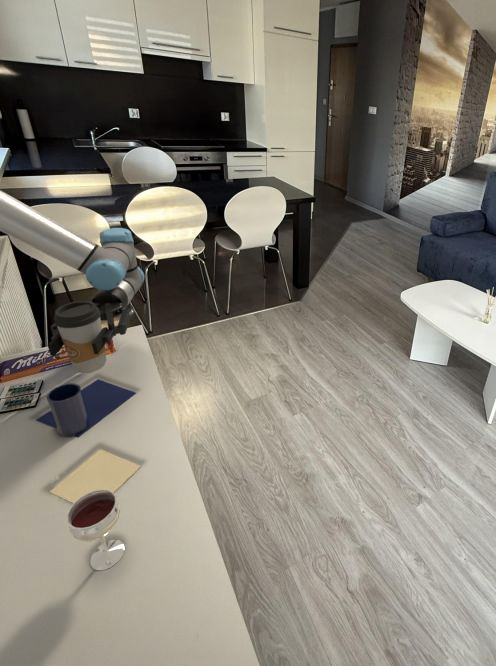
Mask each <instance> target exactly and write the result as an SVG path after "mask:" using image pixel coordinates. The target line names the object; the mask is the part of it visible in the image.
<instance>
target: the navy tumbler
mask: <svg viewBox="0 0 496 666" xmlns="http://www.w3.org/2000/svg"><path fill="white" fill-rule="evenodd" d="M46 401H47V403H48V406H49V409H50V410H51V412H52V415H53V418H54V421H55V424H56V427H57V429H56V430H57V432H58V434H59V435H60V436H62V437H68V438H71V437H75V435H78V434H80V433H82V432H83V431H85V430H86V429H87V428H88V427H89V425H90V417H89V414H88V411H87V407H86V404H85V400H84V397H83V394H82V387H81V386H80V385H79V384H77V383H71V382H70V383H69V382H68V383H64V384H60V385H58V386H56V387H54V388H53V389H51V390H50V391H49V392H48V393H47V395H46ZM50 410H49V411H50Z"/></svg>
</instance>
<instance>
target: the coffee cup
mask: <svg viewBox="0 0 496 666" xmlns="http://www.w3.org/2000/svg"><path fill="white" fill-rule="evenodd" d="M100 315H101V314H100V311H99V308H98V307H97V306H96V305H95V304H94V303H93V302H91V301H89V300H77V301H71V302H68V303H65V304H63V305H61V306H59V307H58V308H56V309H55V311H54V316H53V320H54V323H55V325H56V326H57V327H58V330H59V332H60V335H61V337H62V341H63V344H64V345H63V347H64V348H65V351H66V353H67V356H68V358H69V361H70V363H71V365H72V368H73V369H74V370H75V371H76V372H77V373H80V374H90V373H94V372H97V371H99V370H101V369H102V368H104V366H106V363H107V354H106V344H105V345H104V346H103V348H102V349H101V351H100V352H99V354H94V351H93V347H92V343H93V341H94V340H95V339H96V337H97V336H98V334H99V333H100V332H101V330H102V329H103V327H102V322H101V321H102V320H100Z"/></svg>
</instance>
